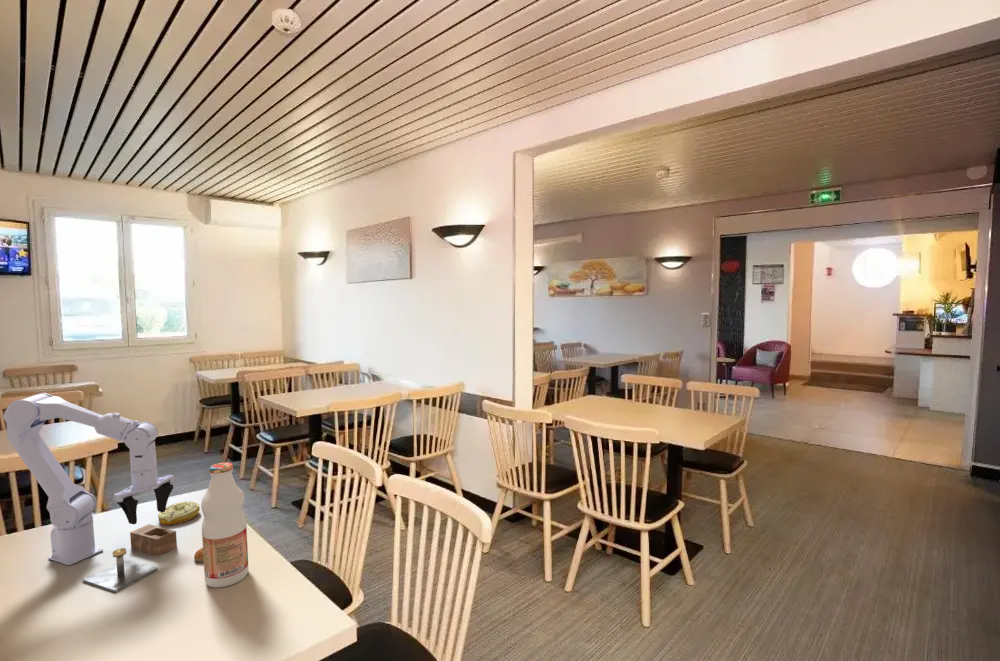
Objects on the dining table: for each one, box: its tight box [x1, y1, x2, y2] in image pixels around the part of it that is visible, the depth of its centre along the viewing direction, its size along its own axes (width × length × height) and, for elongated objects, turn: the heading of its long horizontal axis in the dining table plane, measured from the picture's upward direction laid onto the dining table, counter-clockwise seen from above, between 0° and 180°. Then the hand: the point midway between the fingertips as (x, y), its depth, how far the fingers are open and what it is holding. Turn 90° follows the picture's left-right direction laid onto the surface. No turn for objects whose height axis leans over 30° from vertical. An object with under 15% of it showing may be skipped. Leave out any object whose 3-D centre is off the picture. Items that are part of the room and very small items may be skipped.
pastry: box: [193, 547, 204, 563], centre depth 132 cm, size 9×7×4 cm
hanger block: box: [129, 523, 178, 557], centre depth 136 cm, size 11×5×5 cm, turn 68°
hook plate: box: [82, 547, 159, 593], centre depth 122 cm, size 12×10×6 cm
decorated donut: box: [157, 501, 201, 526], centre depth 154 cm, size 10×11×4 cm
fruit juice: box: [200, 461, 249, 589], centre depth 121 cm, size 9×9×28 cm
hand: (147, 517), depth 136 cm, fingers open, 7 cm apart
